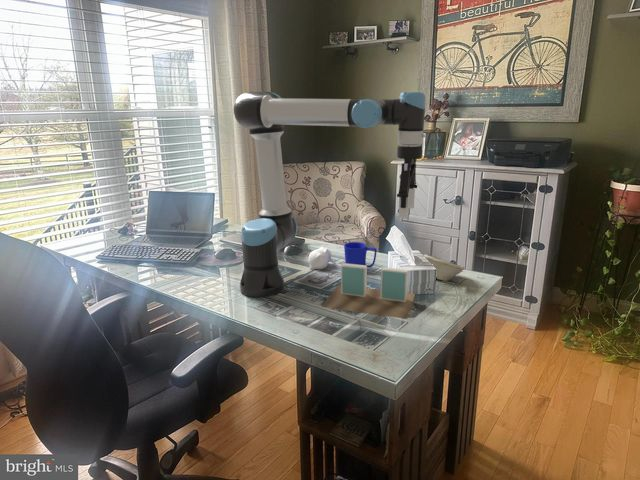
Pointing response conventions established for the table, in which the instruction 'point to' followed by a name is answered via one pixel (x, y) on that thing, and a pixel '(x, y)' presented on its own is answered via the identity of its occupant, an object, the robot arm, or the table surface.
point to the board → (369, 303)
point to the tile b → (394, 284)
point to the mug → (357, 253)
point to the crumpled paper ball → (320, 258)
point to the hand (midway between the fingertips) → (406, 212)
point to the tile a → (354, 279)
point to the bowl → (444, 268)
